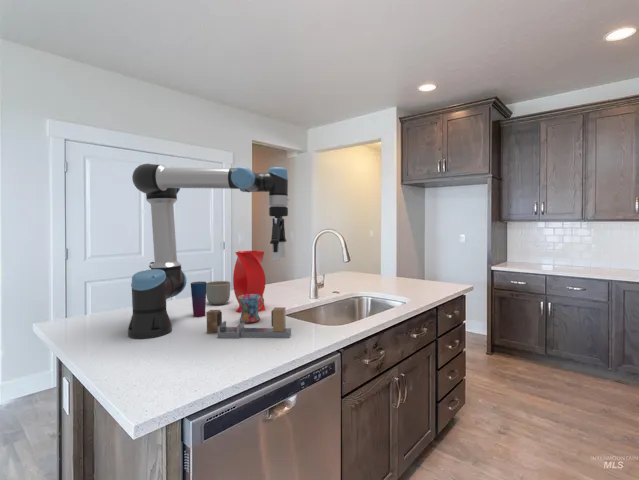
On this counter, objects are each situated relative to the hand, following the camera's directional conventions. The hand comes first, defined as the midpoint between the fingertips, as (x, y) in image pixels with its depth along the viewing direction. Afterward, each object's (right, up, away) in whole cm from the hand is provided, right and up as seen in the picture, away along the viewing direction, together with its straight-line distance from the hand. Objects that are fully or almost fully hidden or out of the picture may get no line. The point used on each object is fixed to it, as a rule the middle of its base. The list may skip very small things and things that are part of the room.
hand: (278, 259), depth 144 cm
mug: (-12, -27, +7) cm, 30 cm away
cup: (-38, -27, +16) cm, 49 cm away
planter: (-36, -26, +40) cm, 59 cm away
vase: (-17, -26, +27) cm, 41 cm away
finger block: (-24, -27, -8) cm, 37 cm away
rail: (-7, -28, -13) cm, 31 cm away
